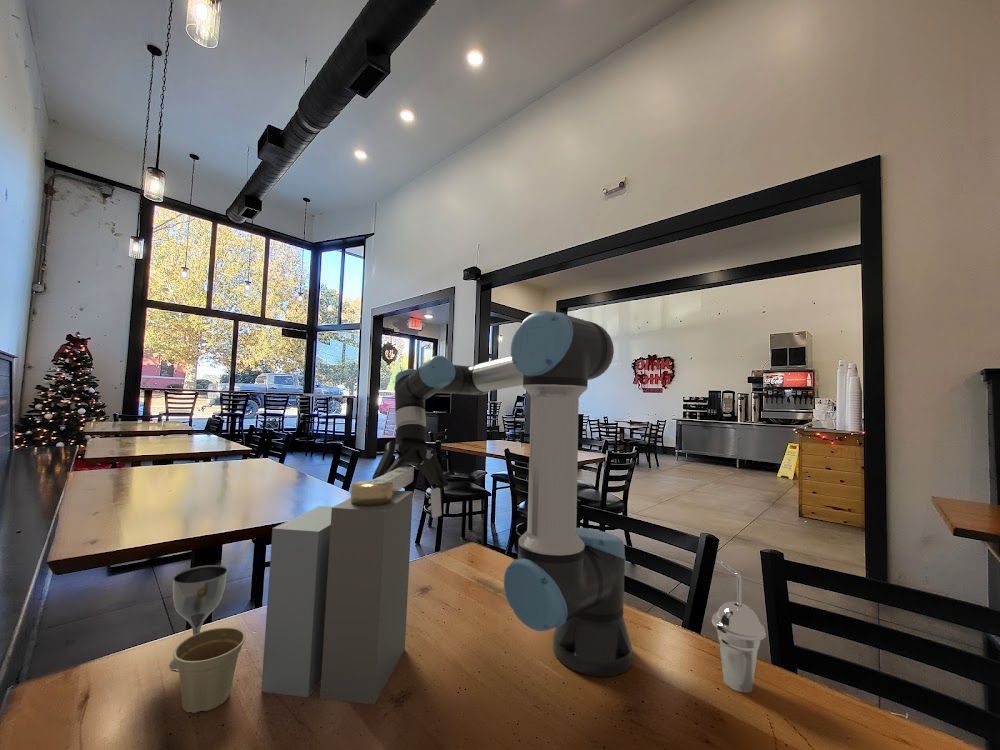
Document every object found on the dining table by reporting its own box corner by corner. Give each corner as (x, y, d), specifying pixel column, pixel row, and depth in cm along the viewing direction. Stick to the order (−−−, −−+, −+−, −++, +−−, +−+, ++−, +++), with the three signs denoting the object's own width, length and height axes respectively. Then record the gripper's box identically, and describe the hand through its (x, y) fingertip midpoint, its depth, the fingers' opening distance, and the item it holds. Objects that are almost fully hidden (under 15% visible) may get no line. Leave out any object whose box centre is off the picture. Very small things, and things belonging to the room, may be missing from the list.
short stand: (350, 643, 83) (357, 508, 84) (308, 697, 68) (318, 531, 69) (311, 639, 84) (319, 505, 85) (261, 691, 69) (272, 528, 70)
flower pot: (215, 724, 62) (220, 663, 62) (151, 721, 62) (157, 659, 62) (254, 681, 71) (257, 628, 71) (198, 678, 71) (203, 625, 72)
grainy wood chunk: (422, 481, 93) (422, 467, 94) (383, 507, 71) (384, 489, 71) (391, 479, 94) (392, 466, 94) (343, 505, 71) (344, 487, 71)
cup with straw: (718, 695, 72) (719, 575, 73) (705, 663, 81) (706, 556, 82) (774, 705, 70) (774, 581, 71) (754, 671, 79) (754, 561, 80)
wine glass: (226, 659, 76) (232, 574, 77) (171, 679, 71) (178, 587, 72) (214, 641, 82) (220, 561, 83) (162, 658, 76) (169, 572, 77)
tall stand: (404, 649, 82) (412, 491, 83) (374, 704, 67) (384, 511, 69) (359, 644, 83) (368, 488, 84) (320, 698, 68) (331, 507, 69)
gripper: (439, 441, 117) (444, 520, 107) (358, 423, 100) (355, 516, 90) (457, 432, 113) (464, 514, 103) (376, 412, 96) (375, 508, 86)
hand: (413, 515), depth 97 cm, fingers open, 13 cm apart
